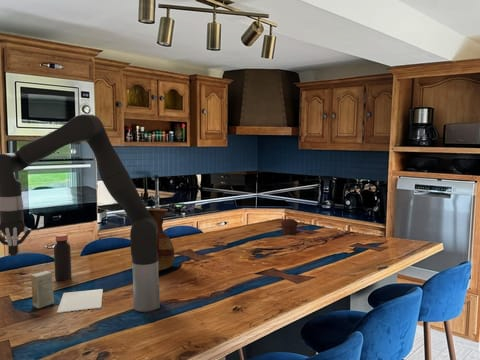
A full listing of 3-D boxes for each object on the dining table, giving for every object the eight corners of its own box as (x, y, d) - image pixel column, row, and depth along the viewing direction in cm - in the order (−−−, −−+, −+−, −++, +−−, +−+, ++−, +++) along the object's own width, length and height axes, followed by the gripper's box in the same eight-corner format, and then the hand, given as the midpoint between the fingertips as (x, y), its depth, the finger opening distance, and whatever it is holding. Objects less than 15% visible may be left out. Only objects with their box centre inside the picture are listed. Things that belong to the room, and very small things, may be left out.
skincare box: (49, 301, 158) (47, 270, 157) (54, 303, 155) (53, 272, 154) (31, 306, 153) (30, 274, 152) (37, 309, 150) (35, 276, 149)
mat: (102, 289, 169) (102, 288, 169) (101, 308, 150) (101, 307, 150) (63, 293, 165) (63, 292, 165) (56, 313, 146) (56, 312, 146)
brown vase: (182, 269, 197) (181, 207, 195) (147, 279, 183) (145, 212, 180) (158, 261, 211) (157, 203, 208) (123, 270, 196) (122, 208, 194)
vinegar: (68, 275, 189) (66, 232, 187) (74, 278, 184) (72, 235, 182) (52, 278, 184) (50, 235, 182) (58, 282, 179) (56, 237, 177)
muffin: (280, 235, 270) (280, 220, 269) (281, 231, 281) (281, 217, 280) (298, 235, 268) (298, 220, 267) (298, 232, 279) (298, 217, 278)
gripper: (-13, 210, 142) (-10, 259, 144) (29, 209, 146) (31, 256, 148) (-7, 207, 150) (-4, 254, 151) (33, 206, 153) (35, 251, 155)
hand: (13, 255), depth 149 cm, fingers closed
